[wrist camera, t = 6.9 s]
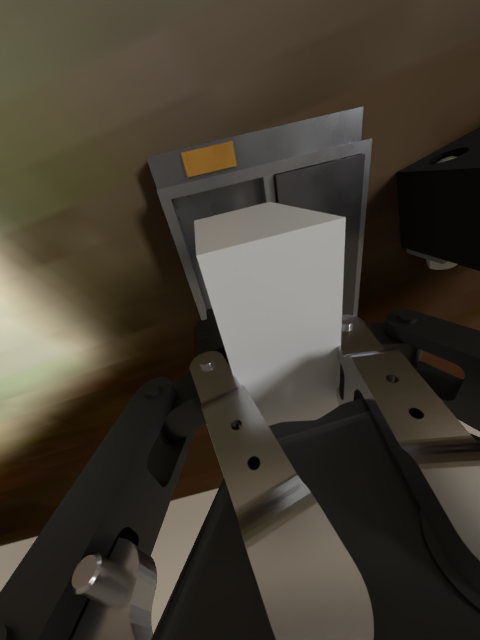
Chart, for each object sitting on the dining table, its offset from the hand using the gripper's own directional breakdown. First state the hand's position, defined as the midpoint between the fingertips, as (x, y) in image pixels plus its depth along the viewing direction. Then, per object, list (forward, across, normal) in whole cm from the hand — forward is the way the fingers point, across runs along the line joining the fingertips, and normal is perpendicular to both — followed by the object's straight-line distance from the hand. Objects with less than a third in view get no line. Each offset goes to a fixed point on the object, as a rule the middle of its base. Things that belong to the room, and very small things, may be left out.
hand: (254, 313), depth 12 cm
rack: (+7, -3, 0) cm, 8 cm away
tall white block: (+1, 0, 0) cm, 1 cm away
